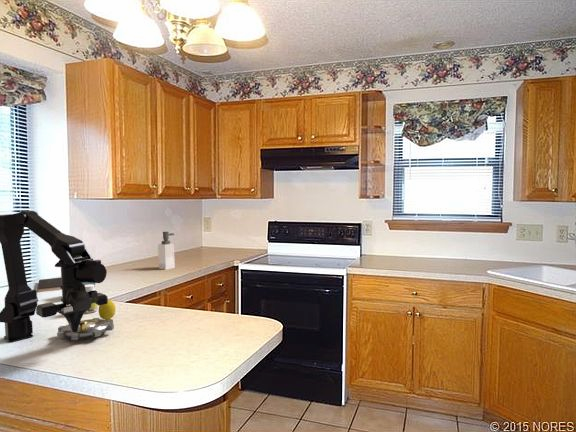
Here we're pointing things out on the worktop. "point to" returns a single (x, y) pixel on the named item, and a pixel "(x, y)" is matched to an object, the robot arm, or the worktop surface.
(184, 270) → the worktop surface
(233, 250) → the worktop surface
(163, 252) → the soap dispenser
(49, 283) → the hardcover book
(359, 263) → the worktop surface
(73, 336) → the sprocket
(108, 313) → the lemon
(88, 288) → the supplement bottle
